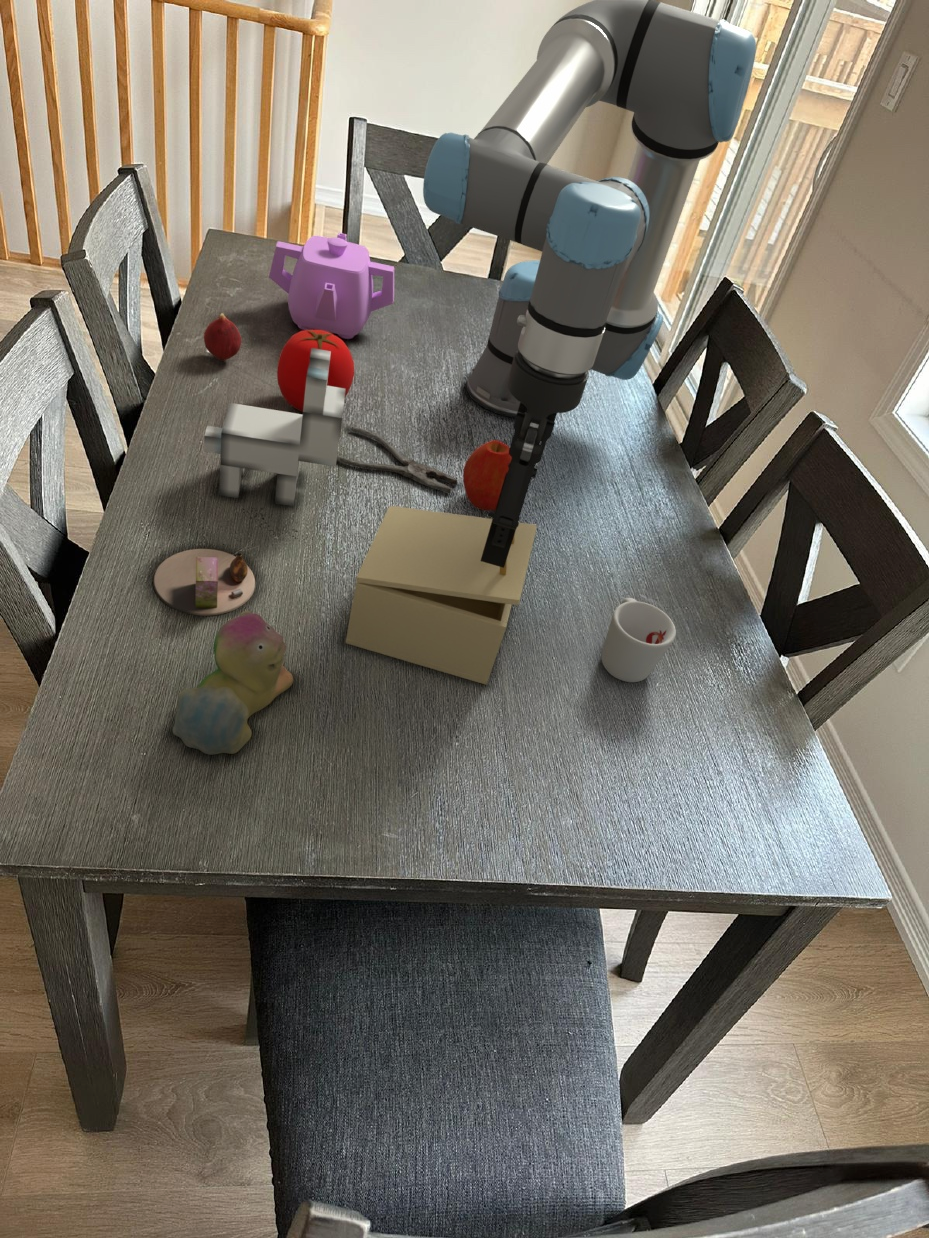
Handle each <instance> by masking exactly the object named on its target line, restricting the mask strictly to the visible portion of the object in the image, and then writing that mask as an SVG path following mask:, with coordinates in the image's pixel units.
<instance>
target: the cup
mask: <svg viewBox="0 0 929 1238" xmlns="http://www.w3.org/2000/svg"><path fill="white" fill-rule="evenodd" d="M676 635H677V631H676V627H675V624H674V622H673V620H672V619H671V618H670V616H669V615H668V614H667V613H666V612H664V611H663V610H662V609H661V608H659V607H657V606H655V605H653V604H651V603H649V602H648V603H647V602H644V601H638V600H636V599H635V598H634V597H625V598H624V599H622V601H621V602H620V604H619V605H618V606H617V607H616V608H615V609H614V611H613V613H612V617H611V620H610V623H609V626H608V630H607V632H606V636H605V640H604V643H603V646H602V651H601V662H602V665H603V667H604V669H605V670H606V671H607V672H608V673H609V674H610V675H611V676H612V677H613V678H616V679H617V680H619V681H623V682H627V683H637V682H641V681H644V680H645V679H647V678H648V677H649V676H650V675H651V673H652V672H653V671H654V670H655V668H656V667H657V665H658V664H659V662H660V661H661V660H662V658H663V657H664V656H665V654H666V653H667V651H668V650H669V648H670V647H671V646H672V644H673V643H674V642H675V639H676Z"/></svg>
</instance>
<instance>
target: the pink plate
mask: <svg viewBox="0 0 929 1238" xmlns="http://www.w3.org/2000/svg"><path fill="white" fill-rule="evenodd" d="M152 585H153V589H154V592H155V593H156V595H157V597H158V598H159V599H160V600H161V601H162V602H163V603H164V604H166V605H167V606H168V607H170V608H172V609H174V610H176V611H178V612H180V613H183V614H188V615H193V616H200V617H201V616H204V617H211V616H218V615H223V614H227V613H230V612H233V611H235V610H237V609H239V608H241V607H242V606H243V605H245V604H246V603H247V602H249V600H250V599H251V598H252V597H253V594H254V592H255V590H256V578H255V575H254V573H253V571H252V569H251V568H250V567H249V566H248V564H247V562H246V561H245V559H244V557H243V552H242V550H237V553H236V556H235V555H233V554H231V553H229V552H226V551H223V550H220V549H219V550H218V549H210V548H193V549H187V550H183V551H180V552H177V553H175V554H173V555H171V556H169V557H168V558H166V559H164V560H163V561H162V562H161V563H160V564H159V565H158V567H157V568H156V570H155V572H154V574H153V577H152Z"/></svg>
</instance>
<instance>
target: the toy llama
mask: <svg viewBox="0 0 929 1238" xmlns="http://www.w3.org/2000/svg"><path fill="white" fill-rule="evenodd" d="M330 355H331V351H326V350H320V349H315V348H311V354H310V362H309V367H308V371H307V378H306V387H305V397H304V407H303V412H302V414H301V413H296V412H289V411H284V410H276V409H271V408H264V407H259V406H251V405H245V404H240V403H234V402H229V404H228V408H227V412H226V415H225V417H224V418H225V419H224V422H223V426H222V427H220V426H212V425H207V426H206V429H205V432H204V434H203V452H204V453H210V454H211V453H212V454H218V455H220V458H219V459H220V461H219V462H220V464H219V469H220V470H219V489H218V490H219V491H218V492H219V494H218V495H219V496H222V497H228V498H235V499H239V495H240V491H241V487H242V486H241V485H242V478H244V475H245V471H246V470H251V471H257V472H258V471H259V472H266V473H272V474H277V476H276V486H275V499H274V500H275V501H274V502H275V504H276V505H284V506H292V507H294V505H295V499H296V491H297V485H298V480H299V475H300V474H299V472H300V464H301V462H304V463H310V464H316V465H323V466H329V467H335V468H336V466H337V461H338V460H337V455H339V454H338V453H339V447H340V438H341V433H342V424H343V418H344V417H343V416H344V406H345V399H346V397H345V389H344V388H338V387H333V386H327V380H328V372H329V363H330Z"/></svg>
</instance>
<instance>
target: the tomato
mask: <svg viewBox="0 0 929 1238" xmlns="http://www.w3.org/2000/svg"><path fill="white" fill-rule="evenodd" d="M311 348H315V349H320V350H326V351H331V355H330V363H329V372H328V380H327V386H333V387H338V388H344V389H345V398H346V397H347V395H348V393H349V391H350V389H351V386H352V384H353V382H354V376H355V361H354V359H353V356H352V353H351V350H350V349H349V347H348V346H347V344H346V343H345V342H344V340H342V339H341V337H339V336H338V335H335V334H334V333H331V332H327V331H323V330H316V329H313V330H307V329H306V330H300V331H298V332H296V333H295V334H293V335H292V336H291V337H290V338H289V339H288V340H287V342H286V343H285V344H284V345H283V348H282V350H281V352H280V355H279V358H278V363H277V368H276V369H277V370H276V377H277V385H278V388H279V390H280V393H281V395H282V397H283V398H284V400H285V401H286V402H287V404H288V405H290V406H291V407H292V408H293V409H296V410H297V411H300V412H302V413H303V407H304V397H305V387H306V378H307V371H308V367H309V362H310V354H311Z"/></svg>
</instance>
